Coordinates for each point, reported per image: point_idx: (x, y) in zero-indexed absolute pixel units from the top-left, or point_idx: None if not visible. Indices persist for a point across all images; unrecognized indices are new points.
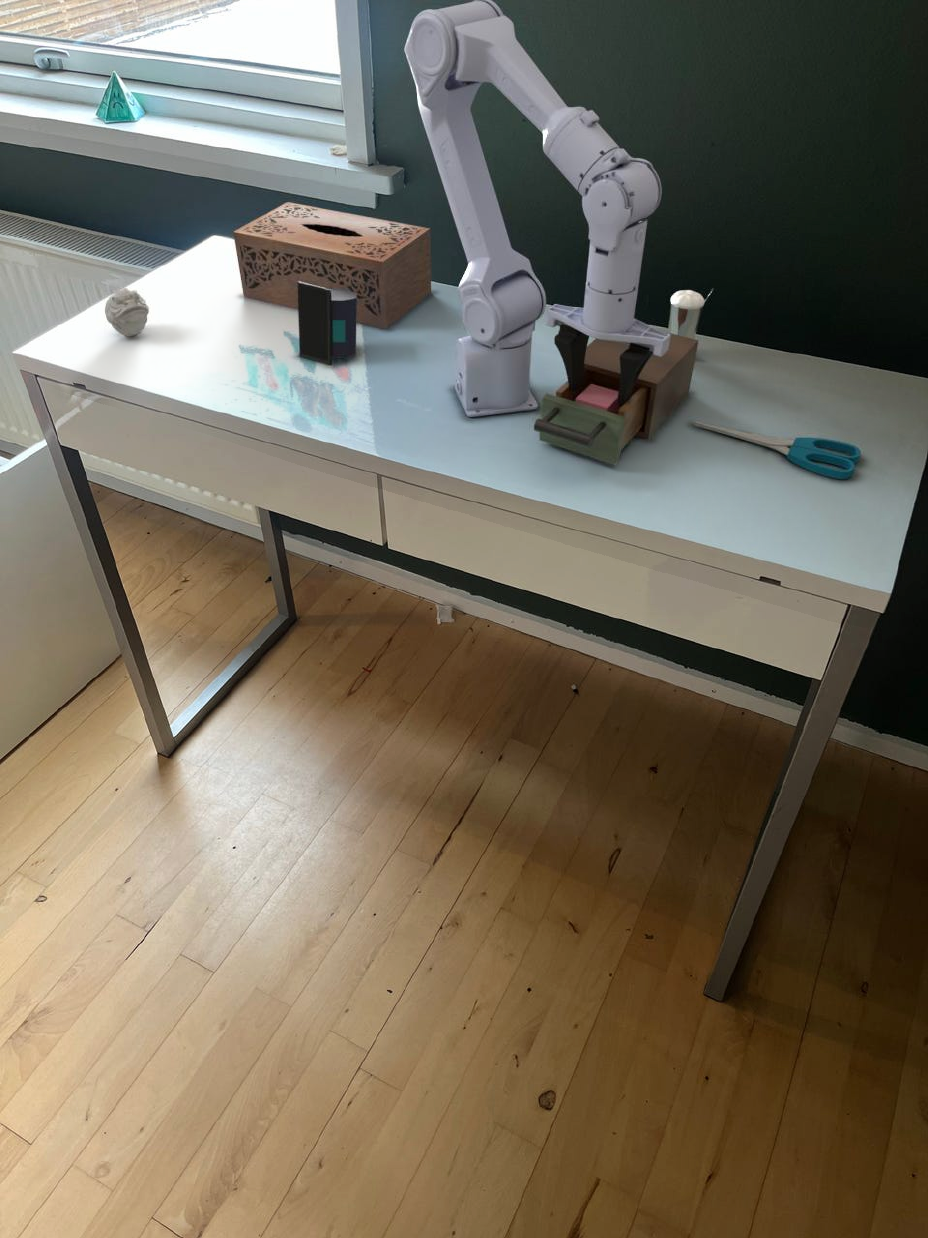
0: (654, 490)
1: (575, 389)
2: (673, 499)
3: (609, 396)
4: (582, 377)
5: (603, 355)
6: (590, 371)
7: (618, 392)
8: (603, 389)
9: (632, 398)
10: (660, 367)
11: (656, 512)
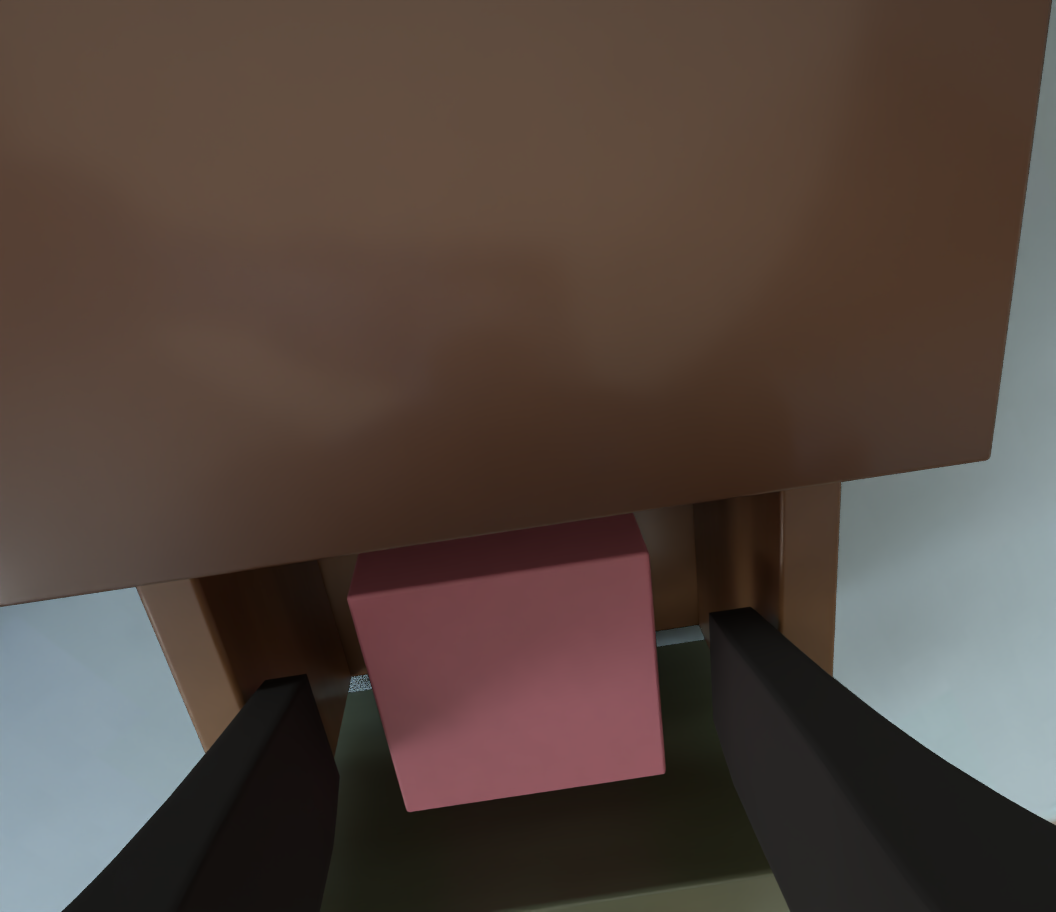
0: (956, 649)
1: (332, 762)
2: (1052, 650)
3: (594, 660)
4: (291, 715)
5: (127, 291)
6: None
7: (758, 840)
8: (492, 611)
9: (799, 642)
10: (905, 80)
11: (1009, 749)
